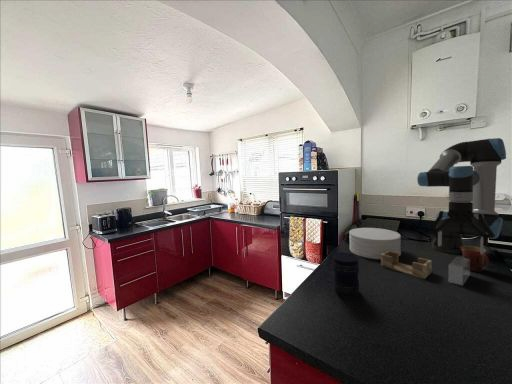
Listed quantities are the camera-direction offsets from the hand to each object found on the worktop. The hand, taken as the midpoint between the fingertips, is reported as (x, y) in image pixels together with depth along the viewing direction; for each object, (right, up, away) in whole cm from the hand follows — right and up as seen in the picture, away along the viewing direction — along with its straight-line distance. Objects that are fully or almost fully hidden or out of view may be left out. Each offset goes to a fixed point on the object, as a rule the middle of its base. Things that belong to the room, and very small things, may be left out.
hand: (459, 249), depth 93 cm
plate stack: (-16, -12, +40) cm, 44 cm away
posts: (-15, -14, +13) cm, 24 cm away
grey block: (+1, -14, +1) cm, 14 cm away
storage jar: (-52, -17, -4) cm, 55 cm away
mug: (+15, -13, +7) cm, 21 cm away
